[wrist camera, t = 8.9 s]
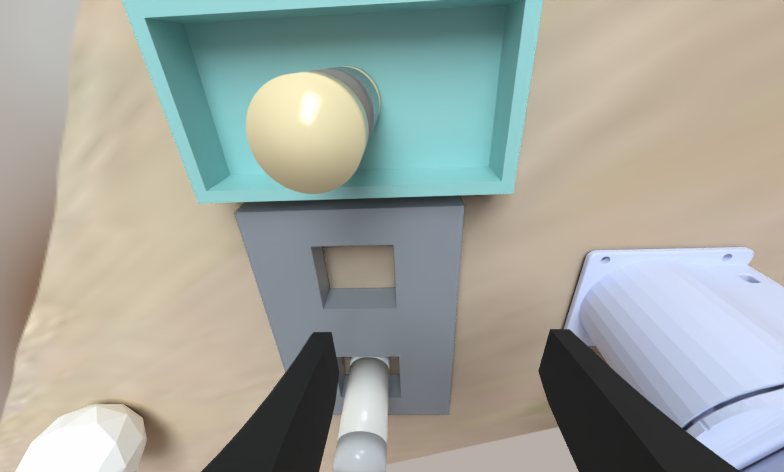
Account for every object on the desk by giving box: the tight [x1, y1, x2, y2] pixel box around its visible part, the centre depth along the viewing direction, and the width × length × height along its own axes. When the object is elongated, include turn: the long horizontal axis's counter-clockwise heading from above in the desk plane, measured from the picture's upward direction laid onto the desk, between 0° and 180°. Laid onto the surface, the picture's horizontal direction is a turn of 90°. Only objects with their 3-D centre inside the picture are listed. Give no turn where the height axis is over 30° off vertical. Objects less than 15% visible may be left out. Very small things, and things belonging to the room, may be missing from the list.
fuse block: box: [234, 195, 464, 415], centre depth 22 cm, size 12×18×2 cm, turn 2°
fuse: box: [333, 357, 390, 472], centre depth 21 cm, size 3×3×8 cm
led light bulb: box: [246, 66, 381, 194], centre depth 12 cm, size 3×3×8 cm
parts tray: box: [122, 0, 543, 203], centre depth 14 cm, size 15×8×3 cm, turn 92°
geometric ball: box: [16, 404, 147, 472], centre depth 26 cm, size 8×8×8 cm
